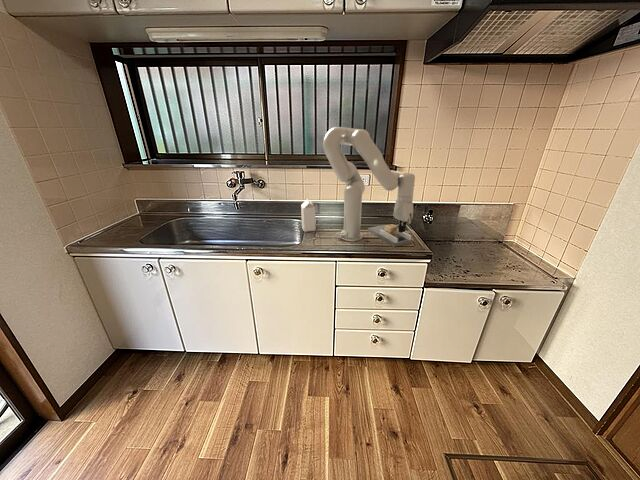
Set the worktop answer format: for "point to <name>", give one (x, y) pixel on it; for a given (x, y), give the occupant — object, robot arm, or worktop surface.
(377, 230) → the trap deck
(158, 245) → the worktop surface
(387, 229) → the maple block
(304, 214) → the milk carton
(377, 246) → the worktop surface
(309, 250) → the worktop surface
